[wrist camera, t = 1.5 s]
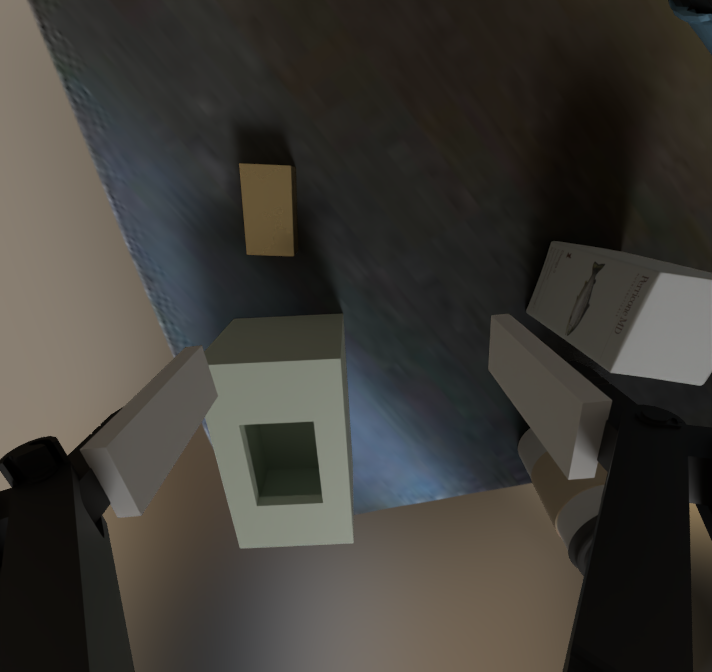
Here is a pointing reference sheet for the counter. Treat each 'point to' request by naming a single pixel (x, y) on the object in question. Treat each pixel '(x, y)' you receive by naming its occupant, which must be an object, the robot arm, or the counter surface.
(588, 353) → the supplement box
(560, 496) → the coffee cup
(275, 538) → the grey box with slot
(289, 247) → the tan wooden block
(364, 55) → the counter surface
